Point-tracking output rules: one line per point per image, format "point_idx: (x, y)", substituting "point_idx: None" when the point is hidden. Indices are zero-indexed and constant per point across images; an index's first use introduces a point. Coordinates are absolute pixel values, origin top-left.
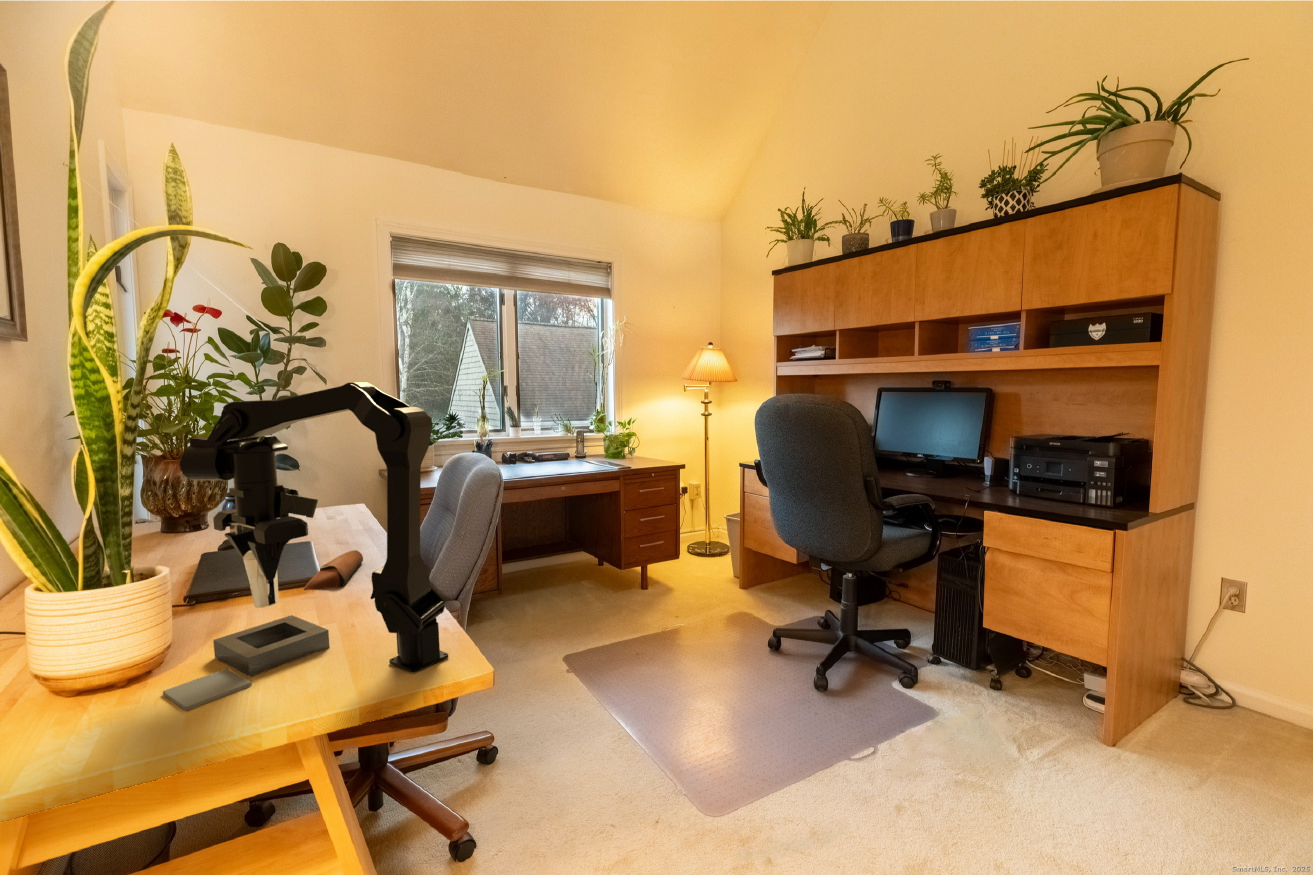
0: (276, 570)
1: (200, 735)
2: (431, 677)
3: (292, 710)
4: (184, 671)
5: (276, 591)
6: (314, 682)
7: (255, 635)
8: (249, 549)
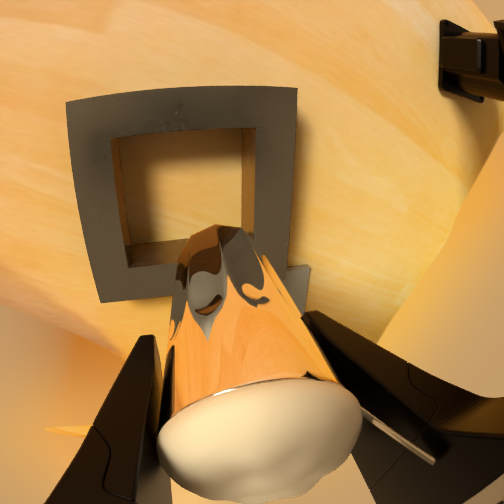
0: (348, 329)
1: (370, 331)
2: (494, 100)
3: (420, 249)
4: (134, 324)
5: (261, 257)
6: (389, 194)
7: (121, 217)
8: (162, 498)
